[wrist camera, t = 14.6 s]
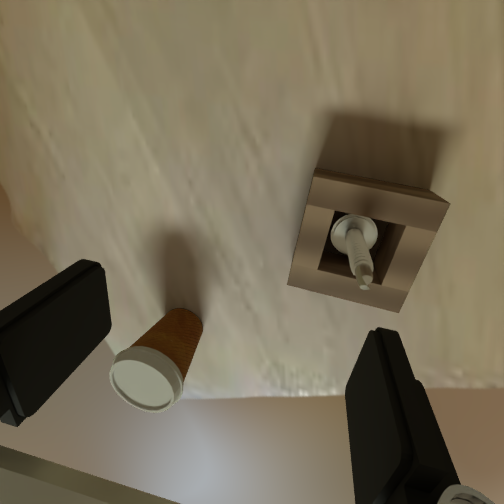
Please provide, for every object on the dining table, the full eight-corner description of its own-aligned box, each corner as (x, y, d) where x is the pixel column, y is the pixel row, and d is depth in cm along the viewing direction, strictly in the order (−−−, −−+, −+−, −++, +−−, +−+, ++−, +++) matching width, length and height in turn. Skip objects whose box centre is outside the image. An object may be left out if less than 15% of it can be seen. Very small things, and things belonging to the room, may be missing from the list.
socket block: (315, 167, 32) (313, 176, 27) (429, 190, 30) (450, 203, 25) (291, 263, 37) (287, 284, 32) (388, 286, 35) (398, 313, 30)
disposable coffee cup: (223, 322, 43) (190, 387, 33) (196, 358, 48) (160, 426, 37) (169, 287, 43) (118, 342, 32) (147, 327, 47) (96, 387, 37)
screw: (361, 200, 32) (382, 235, 33) (322, 222, 34) (343, 254, 35) (381, 245, 20) (413, 296, 21) (321, 274, 22) (353, 321, 23)
